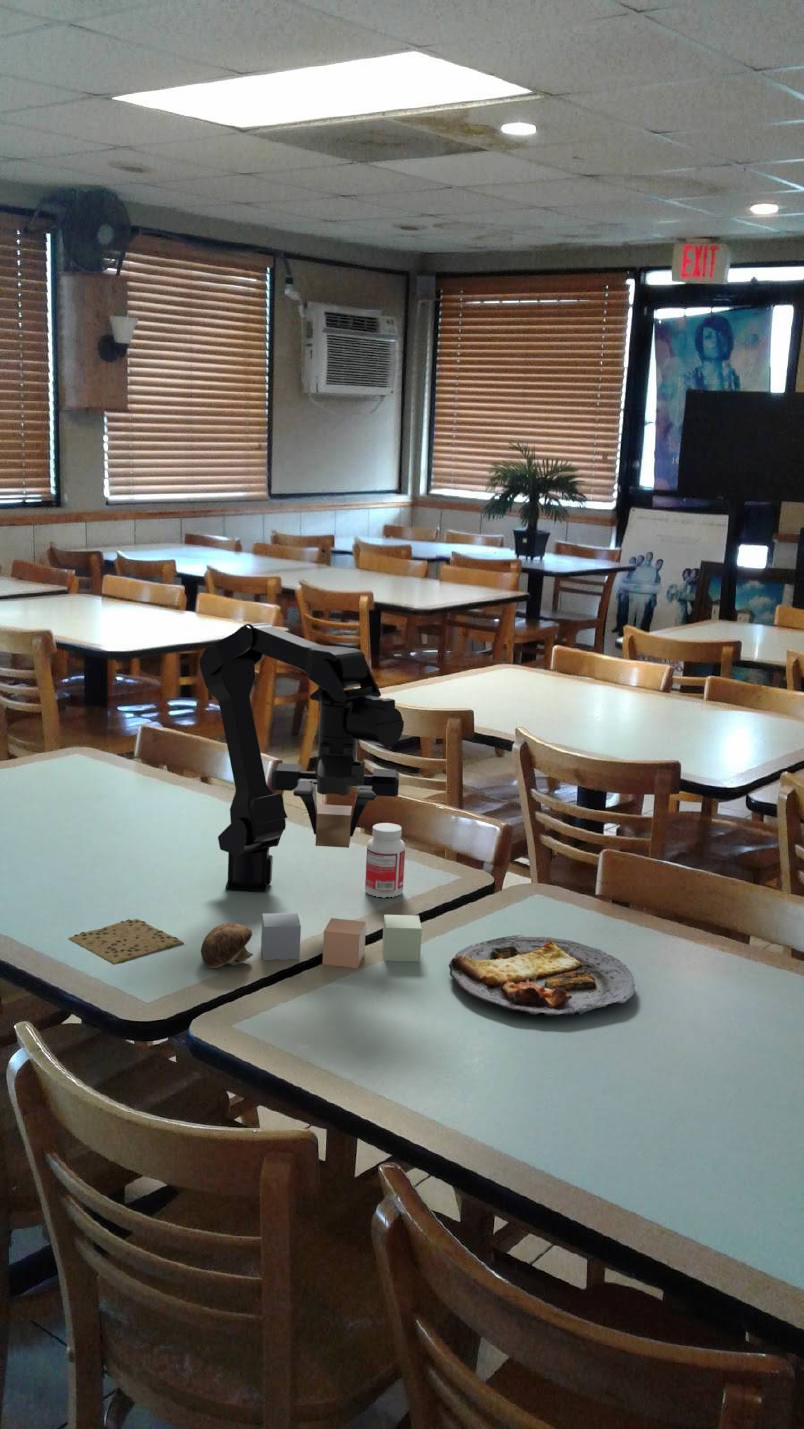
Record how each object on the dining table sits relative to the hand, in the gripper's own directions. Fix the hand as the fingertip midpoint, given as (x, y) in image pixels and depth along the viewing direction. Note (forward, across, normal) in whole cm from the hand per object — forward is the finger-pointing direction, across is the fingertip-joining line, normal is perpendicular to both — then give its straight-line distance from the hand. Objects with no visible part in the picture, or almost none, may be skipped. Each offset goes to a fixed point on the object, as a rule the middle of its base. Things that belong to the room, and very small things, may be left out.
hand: (333, 834), depth 190 cm
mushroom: (+13, -13, -20) cm, 27 cm away
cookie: (+14, -28, -14) cm, 34 cm away
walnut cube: (+1, 0, 0) cm, 1 cm away
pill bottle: (+13, +8, +12) cm, 20 cm away
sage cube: (+13, +11, -13) cm, 21 cm away
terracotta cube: (+13, +3, -16) cm, 21 cm away
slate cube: (+13, -6, -15) cm, 21 cm away
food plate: (+14, +30, -21) cm, 39 cm away
